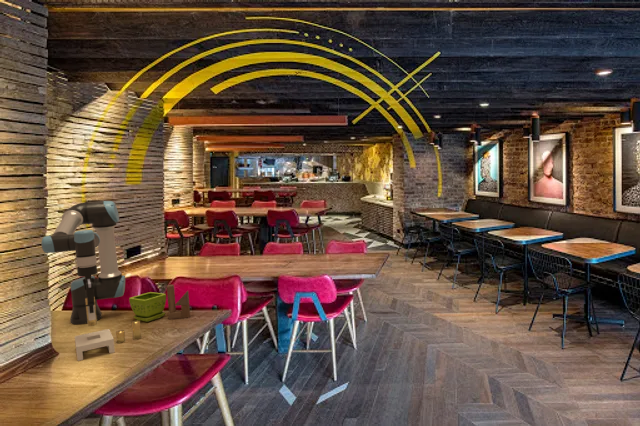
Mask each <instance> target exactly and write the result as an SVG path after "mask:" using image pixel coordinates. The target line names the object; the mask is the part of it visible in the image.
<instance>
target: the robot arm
mask: <svg viewBox="0 0 640 426" xmlns="http://www.w3.org/2000/svg"><path fill="white" fill-rule="evenodd" d="M119 222H120V216H119V211H118V207H117V204H116V203H115V202H114V201H112V200H100V201H85V202H79V203H76V204H74V205H72V206H70V207H69V208H67V209H66V210H65V211H64V212H63V214H62V216H61V221H60V222H59V225H57V227H56V229H55V231H54V232H53V233H52V235H47V236H42V239H41V249H42V251H43V252H44V253H46V254H49V253H51V254H52V253H53V254H55V253H64V252H75V260H74V262H76V267H77V268H76V270H77V271H76V272H77V276H78V277H80V278H78V279H74V280H73V281H71V283H70V292H71V304H72V310H71V314H70V318H69V321H70V324H71V323H72V324H71V325H84V324H85V325H86V324H88V322H87V311H86V306H87V308H88V318H89V321H90V320H96V317H97V321H99V320H101V319H102V317H103V313H102V311H101V309H100V307H99V305H98V301H97V300H105V299H106V300H107V299H116V298H119V297H120V298H121V297H123V296H124V293H125V290H126V275H123V273H122V271H120V270H119V265H118V255H117V247H116V246H117V245H116V239H115V238H116V237H115V230H114V229H115V227H116V226H117V223H119ZM81 225H91V226H92V228H93V229H94V230H95V232H94V230H92V229H83V230H82V229H81V230H77V228H78V227H80V226H81ZM96 248H98V249H97V250H98V258H99V266H100V272H99V274H98V265H97V253H96ZM97 274H98V276H97V277H95V275H97ZM94 297H95V302H94ZM85 298H87V303H88V304H87V305H86V301H85ZM94 304H95V305H94ZM95 306H96V315H95Z"/></svg>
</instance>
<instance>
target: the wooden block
mask: <svg viewBox="0 0 640 426" xmlns="http://www.w3.org/2000/svg"><path fill="white" fill-rule="evenodd" d="M166 292H167V293H166V294H167V295H166V296H167V303H168V304H167V305H168V312H167V317H168V320H178V319H189V318H190V317H191V309H190V298H189V297H190V295H189V290H187V291H186V292H185V293H184V294H183V295H182V296H181V298H180V299H179V300H178V301H177V302H176V297H175V296H176V294H175V284H168V285H167V286H166ZM177 306H179V307H181V308H180V309H181V310H180V309H176V308H177Z"/></svg>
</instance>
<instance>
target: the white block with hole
mask: <svg viewBox="0 0 640 426" xmlns="http://www.w3.org/2000/svg"><path fill="white" fill-rule="evenodd" d="M74 343H75V351H76V352H75V353H76V358H77V359H76V360H77V362H79V361H83V360H84V353H83V352H86V351H90V350H94V349H100V348H103V347H106V348H107V350H108V352H109V354H114V353H115V352H116V351H115V340H114V336H113V334H112V332H111V330H110V328H108V329H101V330H98V331H93V332H88V333H83V334H79V335H74Z"/></svg>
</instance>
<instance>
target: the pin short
mask: <svg viewBox="0 0 640 426" xmlns="http://www.w3.org/2000/svg"><path fill="white" fill-rule="evenodd" d="M115 337H116V343H117V344H123V342H124V343H125V342H126V334H125V329H120V330H116V331H115Z"/></svg>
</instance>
